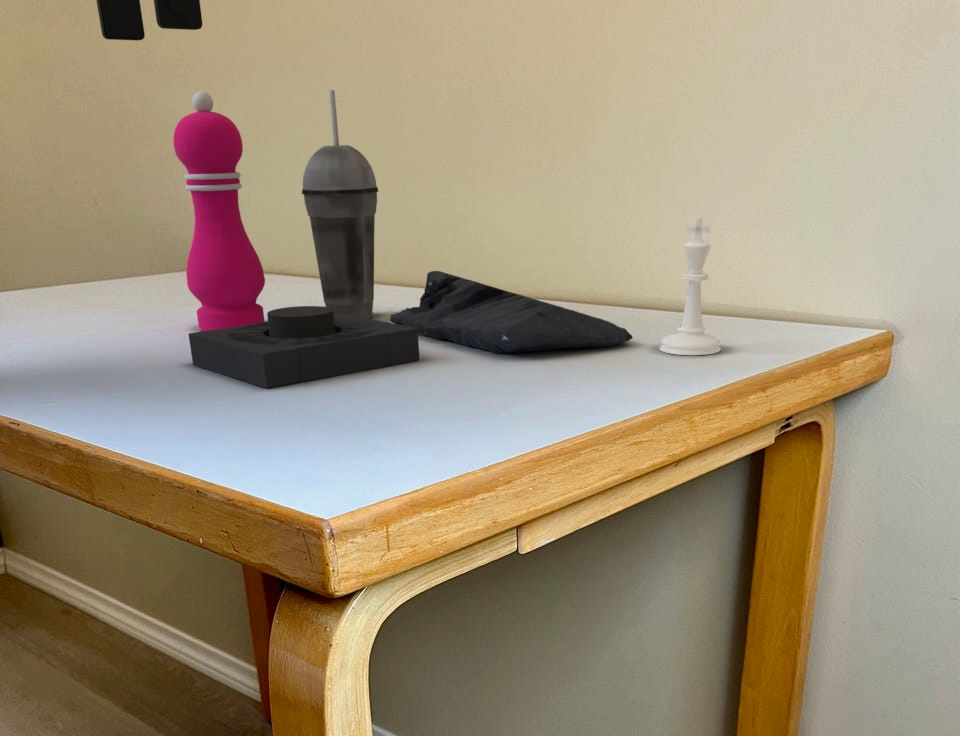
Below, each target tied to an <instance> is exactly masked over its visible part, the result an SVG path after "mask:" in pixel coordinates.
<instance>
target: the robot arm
mask: <svg viewBox="0 0 960 736" xmlns="http://www.w3.org/2000/svg"><path fill="white" fill-rule="evenodd" d="M95 2H96V7H97V12H98V18H99V24H100V30H101V35H102V37H103V38H104V39H105V40H112V41H113V40H115V41H142V40H144V39H145V37H146V36H145V35H146V34H145V26H144V19H143V13H142V7H141V1H140V0H95ZM153 5H154V12H155V19H156V24H157V27H159V28H161V29H162V30H163V29H165V30H186V31H187V30H190V31H197V30H200V29H202V27H203V18H202V17H203V16H202V9H201V8H202V7H201V1H200V0H153Z"/></svg>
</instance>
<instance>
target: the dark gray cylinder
mask: <svg viewBox="0 0 960 736" xmlns="http://www.w3.org/2000/svg"><path fill="white" fill-rule="evenodd" d="M266 316H267V322H268V325H269V334H270V337H277V338H308V337H319V336H325V335H331V334H335V322H334V310H333V309H332V308H328V307H326V306H321V305H320V306H319V305H300V306H287V307H280V308H275V309H272V310H269V311H267V313H266Z"/></svg>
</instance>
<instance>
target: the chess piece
mask: <svg viewBox="0 0 960 736" xmlns="http://www.w3.org/2000/svg"><path fill="white" fill-rule="evenodd" d="M703 222H704V217H703V216H700V217H699V216H697V217H695V225H688V226H687V227H686V229H687V230H686V233H694V240H691V241H689V242H686V243H685V244H684V252H685V254H686V256H685V257H686V260H687V265H688V269H689V270H688V272H687V273H683V274H682V276H681V280H684V281H687V282H688V286H687V292H686V298H685V305H684V310H683V316H682V320H681V324H680V326H679V327H677V328H676V330H677V331H678V332H676V333H672V334H669V335H667V336H665V337H663V338H662V339H661V340H660V344H661V345H660V346H659V350H660V351H661V352H663V353H666V354H671V355H679V356H705V355H706V356H707V355H712V354H716V353H719V352H720V351H721V350H722V348H721V346H720V345H721V340H720V339H719V338H718V337H716V336H714V335H711V334H709V333H705V331H706V330H707V328H706V327H704V326H703V314H702V313H703V311H702V281H707V280H709V279H710V277H709V274H708V273H704V270H703V268H704V266H705V263H706V260H707V257H708V255H709V253H710V250H711V247H712V246H711V244H710V243H709V242H707V241H704V240H702V233H703V234H704V233H705V234H707V233H710V232H711V226H710V225H703Z"/></svg>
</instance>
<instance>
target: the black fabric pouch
mask: <svg viewBox="0 0 960 736" xmlns="http://www.w3.org/2000/svg"><path fill="white" fill-rule="evenodd" d="M389 321H390V323H393V324H399V325H404V326H409V327H414V328H418V334H421V335H422V336H429V337H432V338H433V339H435V340H436V339H437V340H448V341H452V342H454V343H456V344H459V345H463V346H465V347H473V348H477V349H482V350H484V351H489V352H491V353H493V354H502V353H517V354H518V353H519V354H520V353H528V352H536V351H539V352H544V351H547V350H561V349H562V350H563V349H581V348H587V349H588V348H604V347H611V346H618V345H620V344H623V343H627V342H629V341H630V340H632V339H634V337H633V335H632V334H631V333H630V332H629V331H628V330H627V329H626V328H624V327H621V326H619V325H616V324H615V323H613V322H610V321H608V320H606V319H604V318H603V319H602V318H600V317H596V316H592V315H589V314H586V313H583V312H579V311H576V310H572V309H569V308H566V307H563V306H560V305H556V304H553V303H549V302H546V301H542V300H539V299H535V298H533V297H529V296H525V295H522V294H518V293H515V292H511V291H508V290H505V289H502V288H499V287H494V286H491V285H488V284H484V283H481V282H479V281H475V280H472V279H468V278H464V277H461V276H457V275H454V274H451V273H447V272H444V271H441V270H432V271H429V272H427V274H426V282H425V288H424V292H423V294H422V295H421V297H420V298H419V306H412V307H406V308H405V309H402V310H401V311H399V312H395V313H392V314H390V317H389Z"/></svg>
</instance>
